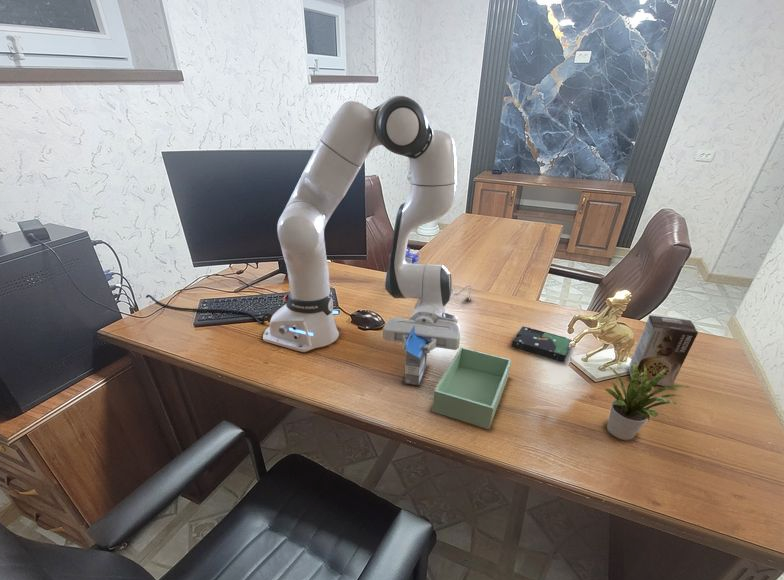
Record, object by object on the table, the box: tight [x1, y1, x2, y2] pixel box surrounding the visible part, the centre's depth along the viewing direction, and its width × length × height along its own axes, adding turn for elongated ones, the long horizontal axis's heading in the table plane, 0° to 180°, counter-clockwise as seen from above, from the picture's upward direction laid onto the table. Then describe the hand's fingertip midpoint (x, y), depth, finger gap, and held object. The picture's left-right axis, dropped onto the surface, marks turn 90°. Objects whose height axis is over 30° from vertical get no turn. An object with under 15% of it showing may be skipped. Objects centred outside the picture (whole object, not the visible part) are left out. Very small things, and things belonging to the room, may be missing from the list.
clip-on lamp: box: [450, 284, 472, 302], centre depth 140 cm, size 12×6×18 cm
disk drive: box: [510, 325, 573, 364], centre depth 112 cm, size 10×3×15 cm
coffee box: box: [627, 314, 699, 387], centre depth 97 cm, size 9×6×16 cm
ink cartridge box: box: [405, 246, 419, 264], centre depth 146 cm, size 10×6×14 cm, turn 59°
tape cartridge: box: [404, 325, 428, 386], centre depth 98 cm, size 9×4×12 cm, turn 163°
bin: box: [431, 346, 512, 430], centre depth 93 cm, size 20×13×6 cm, turn 154°
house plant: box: [603, 362, 689, 441], centre depth 79 cm, size 14×14×16 cm
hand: (416, 349), depth 96 cm, fingers closed on tape cartridge, 4 cm apart
